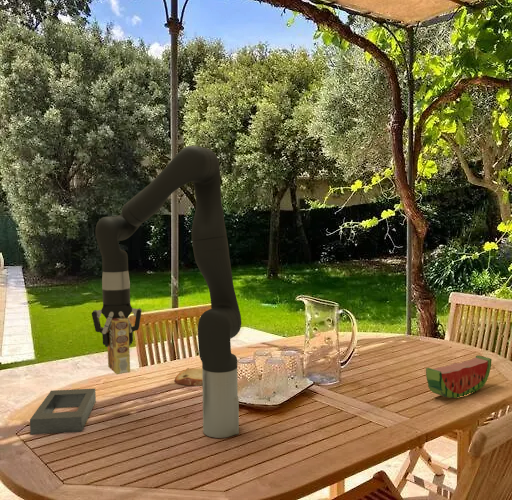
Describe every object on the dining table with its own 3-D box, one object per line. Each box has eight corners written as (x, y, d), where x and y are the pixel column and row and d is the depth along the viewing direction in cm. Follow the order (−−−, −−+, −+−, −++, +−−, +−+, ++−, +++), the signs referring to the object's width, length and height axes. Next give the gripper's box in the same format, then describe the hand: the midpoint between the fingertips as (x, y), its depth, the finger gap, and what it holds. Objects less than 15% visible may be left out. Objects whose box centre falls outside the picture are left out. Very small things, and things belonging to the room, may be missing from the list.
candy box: (131, 372, 147) (129, 318, 146) (116, 375, 145) (114, 320, 144) (121, 365, 155) (119, 313, 153) (106, 367, 152) (105, 315, 151)
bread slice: (241, 376, 184) (241, 366, 184) (213, 392, 169) (213, 381, 168) (200, 369, 193) (199, 359, 193) (169, 383, 178) (169, 373, 177)
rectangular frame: (95, 401, 161) (95, 388, 160) (81, 431, 139) (81, 416, 139) (51, 403, 159) (51, 390, 159) (30, 434, 137) (29, 419, 137)
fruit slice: (439, 405, 156) (440, 373, 155) (422, 399, 161) (423, 367, 160) (492, 389, 170) (493, 359, 169) (475, 383, 175) (476, 354, 175)
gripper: (87, 289, 143) (89, 350, 145) (140, 288, 145) (142, 347, 147) (92, 286, 151) (94, 343, 152) (143, 284, 153) (144, 341, 154)
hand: (118, 345), depth 149 cm, fingers closed on candy box, 5 cm apart
